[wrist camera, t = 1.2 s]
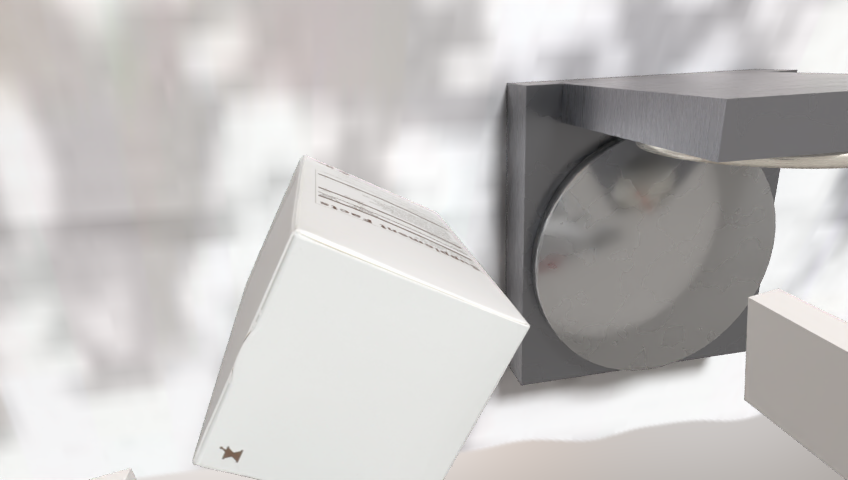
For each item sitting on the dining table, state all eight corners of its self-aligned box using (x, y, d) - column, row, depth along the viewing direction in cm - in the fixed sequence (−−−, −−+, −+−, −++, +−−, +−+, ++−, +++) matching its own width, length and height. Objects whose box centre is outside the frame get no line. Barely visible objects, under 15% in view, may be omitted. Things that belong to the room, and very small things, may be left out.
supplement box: (380, 338, 34) (423, 531, 20) (241, 289, 31) (180, 473, 17) (444, 212, 32) (541, 328, 18) (303, 148, 29) (289, 227, 16)
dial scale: (505, 360, 36) (623, 548, 22) (507, 83, 30) (668, 102, 16) (717, 329, 39) (942, 481, 25) (756, 69, 33) (1080, 75, 19)
